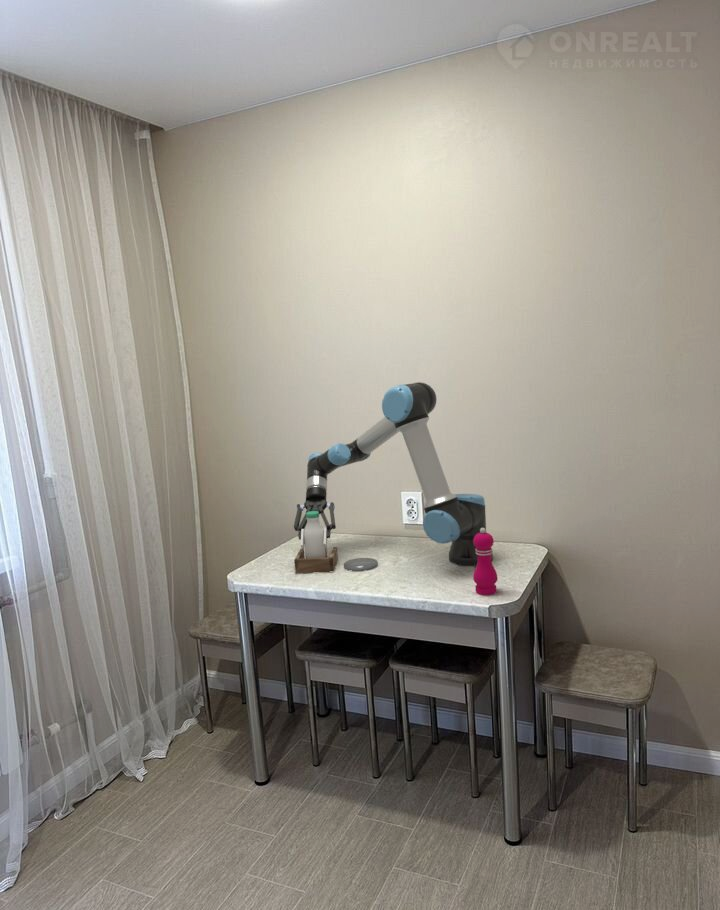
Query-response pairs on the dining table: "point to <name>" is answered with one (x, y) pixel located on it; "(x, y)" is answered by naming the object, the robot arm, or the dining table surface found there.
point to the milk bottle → (314, 537)
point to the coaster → (361, 564)
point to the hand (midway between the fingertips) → (313, 546)
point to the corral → (315, 563)
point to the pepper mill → (484, 564)
